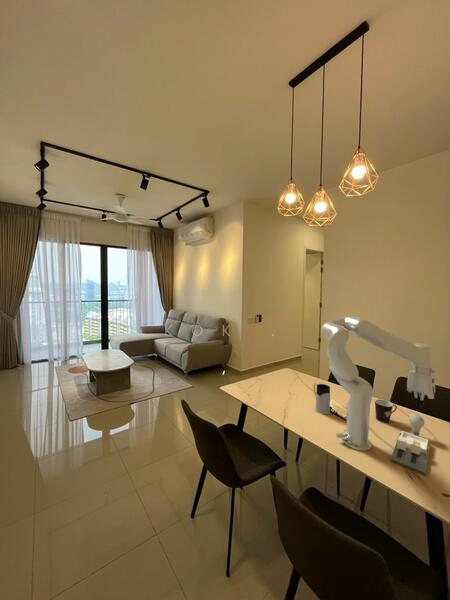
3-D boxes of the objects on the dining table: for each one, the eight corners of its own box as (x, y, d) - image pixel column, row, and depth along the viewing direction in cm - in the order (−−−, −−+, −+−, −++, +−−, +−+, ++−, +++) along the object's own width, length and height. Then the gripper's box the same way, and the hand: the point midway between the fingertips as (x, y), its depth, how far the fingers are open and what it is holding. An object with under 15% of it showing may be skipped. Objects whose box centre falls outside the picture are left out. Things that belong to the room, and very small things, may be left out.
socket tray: (426, 453, 113) (426, 450, 113) (398, 443, 120) (399, 440, 119) (427, 442, 120) (428, 439, 120) (402, 433, 127) (402, 430, 127)
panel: (425, 476, 101) (425, 472, 101) (390, 461, 109) (390, 458, 109) (430, 445, 120) (430, 442, 120) (400, 434, 128) (400, 432, 128)
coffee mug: (375, 422, 140) (376, 404, 139) (372, 414, 148) (373, 398, 147) (400, 426, 136) (401, 408, 135) (395, 418, 144) (396, 401, 143)
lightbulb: (408, 430, 132) (410, 410, 131) (423, 435, 128) (425, 414, 127) (407, 436, 127) (409, 415, 126) (423, 441, 123) (424, 419, 122)
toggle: (405, 450, 113) (405, 442, 113) (397, 447, 115) (397, 439, 115) (406, 446, 116) (407, 438, 116) (398, 443, 118) (399, 435, 118)
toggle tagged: (419, 455, 111) (419, 445, 110) (410, 451, 113) (411, 442, 112) (420, 450, 114) (420, 441, 113) (412, 447, 116) (412, 438, 115)
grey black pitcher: (319, 415, 146) (321, 390, 145) (307, 403, 160) (308, 380, 159) (333, 413, 148) (334, 389, 147) (319, 402, 162) (320, 379, 161)
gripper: (443, 372, 116) (442, 410, 117) (407, 363, 128) (405, 398, 130) (437, 376, 112) (435, 415, 113) (399, 366, 125) (398, 402, 126)
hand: (419, 406), depth 122 cm, fingers closed
